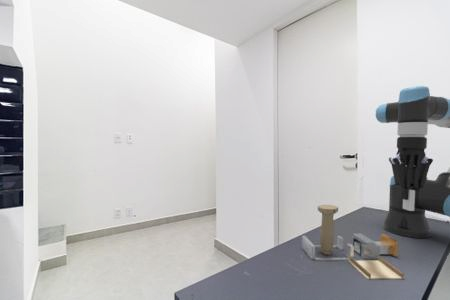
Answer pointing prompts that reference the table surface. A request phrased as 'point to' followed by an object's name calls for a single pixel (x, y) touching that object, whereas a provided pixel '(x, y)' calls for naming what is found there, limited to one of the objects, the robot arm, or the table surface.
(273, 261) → the table surface
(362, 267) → the tan base plate
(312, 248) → the silver rectangular frame
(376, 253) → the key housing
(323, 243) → the handle
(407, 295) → the table surface
